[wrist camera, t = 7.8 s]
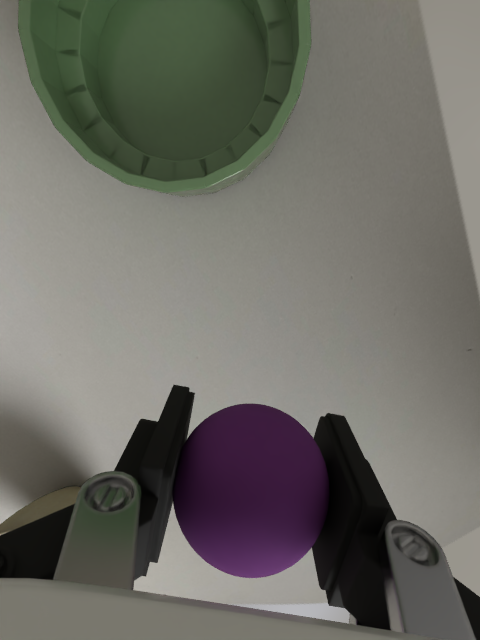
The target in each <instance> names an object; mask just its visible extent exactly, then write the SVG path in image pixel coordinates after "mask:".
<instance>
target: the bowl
mask: <svg viewBox="0 0 480 640" xmlns="http://www.w3.org/2000/svg"><path fill="white" fill-rule="evenodd" d="M18 29H19V35H20V39H21V43H22V47H23V52H24V56H25V60H26V64H27V68H28V72H29V77H30V80H31V83H32V85H33V87H34V89H35V91H36V93H37V95H38V97H39V98H40V100H41V102H42V104H43V106H44V108H45V110H46V112H47V113H48V115H49V117H50V119H51V121H52V123H53V125H54V126H55V128H56V129H57V130H58V131H59V132H60V133H61V134H62V135H63V136H64V138H65V139H66V140H67V141H68V142H69V143H70V144H71V145H72V146H73V147H74V148H75V149H76V150H77V151H78V152H79V154H80V155H81V156H82V157H83V158H84V159H85V160H86V161H88V162H89V163H90V164H92V165H94V166H95V167H97V168H99V169H101V170H102V171H104V172H106V173H107V174H109V175H111V176H112V177H114V178H116V179H118V180H119V181H121V182H123V183H125V184H127V185H132V186H136V187H140V188H144V189H149V190H153V191H158V192H162V193H166V194H171V195H175V196H180V197H181V196H182V197H185V196H193V195H202V194H211V193H216V192H218V191H220V190H222V189H224V188H226V187H228V186H230V185H232V184H234V183H237V182H239V181H241V180H243V179H244V178H246V177H247V176H248V175H249V174H250V173H251V172H252V171H253V170H254V169H255V168H256V167H257V166H258V165H259V164H260V163H261V162H262V161H263V160H265V159H266V158H267V157H268V156H269V155H270V153H271V152H272V150H273V148H274V146H275V145H276V143H277V141H278V139H279V137H280V136H281V134H282V132H283V130H284V128H285V126H286V125H287V123H288V121H289V119H290V116H291V114H292V112H293V110H294V107H295V105H296V103H297V100H298V98H299V95H300V92H301V87H302V83H303V79H304V74H305V70H306V66H307V61H308V57H309V53H310V48H311V23H310V0H19V9H18Z"/></svg>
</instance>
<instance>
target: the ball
mask: <svg viewBox="0 0 480 640" xmlns="http://www.w3.org/2000/svg"><path fill="white" fill-rule="evenodd" d="M172 494H173V504H174V509H175V514H176V518H177V520H178V523H179V526H180V528H181V530H182V533H183V534H184V536H185V538H186V539H187V541H188V542H189V544H190V546H191V547H192V548H193V549H194V551H195V552H196V553H197V554H198V555H199V556H201V557H202V558H203V559H204V560H205V561H206V562H207V563H209V564H210V565H212V566H213V567H215V568H217V569H219V570H221V571H223V572H225V573H227V574H231V575H234V576H238V577H245V578H259V577H266V576H270V575H274V574H276V573H279V572H281V571H283V570H285V569H287V568H289V567H291V566H292V565H294V564H295V563H297V562H298V561H299V560H300V559H301V558H302V557H303V556H304V555H305V554H306V553H307V552H308V551H309V550H310V549H311V547H312V546H313V545H314V543H315V541H316V540H317V538H318V536H319V535H320V533H321V530H322V528H323V526H324V523H325V520H326V516H327V512H328V507H329V498H330V488H329V477H328V472H327V468H326V464H325V461H324V458H323V456H322V453H321V451H320V449H319V447H318V445H317V444H316V442H315V440H314V439H313V437H312V436H311V435H310V433H309V432H308V431H307V430H306V429H305V428H304V427H303V426H302V425H301V424H300V423H299V422H298V421H297V420H295V419H294V418H293V417H291V416H290V415H288V414H286V413H284V412H282V411H280V410H278V409H276V408H273V407H270V406H266V405H261V404H239V405H234V406H230V407H227V408H224V409H222V410H220V411H218V412H216V413H214V414H212V415H211V416H209V417H208V418H206V419H205V420H204V421H203V422H202V423H200V424H199V425H198V426H197V427H196V428H195V429H194V431H193V432H192V433H191V434H190V436H189V437H188V439H187V440H186V442H185V444H184V445H183V447H182V450H181V454H180V458H179V462H178V466H177V471H176V476H175V481H174V486H173V493H172Z"/></svg>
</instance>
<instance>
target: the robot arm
mask: <svg viewBox="0 0 480 640" xmlns="http://www.w3.org/2000/svg"><path fill="white" fill-rule="evenodd" d="M194 395H195V393H192V392H189V388H188V387H183V386H178V385H173V387H172V390H171V392H170V395H169V397H168V399H167V402H166V404H165V407H164V409H163V411H162V414H161V416H160V419H159V421H158V422H157V421H151V420H146V419H140V421H139V423H138V425H137V427H136V429H135V431H134V433H133V435H132V437H131V439H130V440H129V442H128V444H127V446H126V448H125V450H124V452H123V454H122V456H121V458H120V460H119V462H118V464H117V466H116V468H115V470H114V471H110V472H103V473H100V474H97V475H95V476H93V477H91V478H90V479H88V480H87V481H86V482H85V483H84V484H83V485H82V486H81V488H80V490H79V492H78V495H77V499H76V502H75V504H73V505H70V506H68V507H66V508H63V509H61V510H59V511H56V512H54V513H52V514H49V515H47V516H45V517H42V518H40V519H38V520H35V521H33V522H31V523H28V524H26V525H23V526H21V527H19V528H16V529H14V530H12V531H9V532H7V533H5V534H2V535H0V640H480V597H479V596H478V595H476V594H475V593H474V592H472V591H471V590H470V589H468V588H467V587H466V586H464V585H463V584H462V583H460V582H459V581H458V580H457V579H455V578H454V577H453V576H452V573H451V570H450V567H449V565H448V562H447V560H446V556H445V554H444V552H443V550H442V548H441V546H440V545H439V544H438V543H437V541H436V540H435V539H434V538H433V537H432V536H431V535H430V534H428V533H427V532H426V531H425V530H423V529H422V528H420V527H419V526H417V525H415V524H412V523H410V522H407V521H403V520H397V519H396V517H395V515H394V513H393V511H392V509H391V507H390V504H389V502H388V500H387V498H386V496H385V494H384V492H383V490H382V488H381V486H380V484H379V482H378V480H377V478H376V476H375V474H374V472H373V470H372V468H371V466H370V464H369V462H368V461H367V460H366V459H365V458H364V456H363V453H362V451H361V449H360V447H359V445H358V443H357V441H356V439H355V437H354V435H353V433H352V431H351V429H350V426H349V424H348V422H347V420H346V418H345V417H344V416H341V415H335V414H330V413H327V414H326V416H325V417H323V416H321V417H320V419H319V422H318V426H317V429H316V432H315V435H314V440H315V442H316V444H317V445H318V447H319V449H320V451H321V453H322V456H323V458H324V461H325V464H326V468H327V472H328V477H329V488H330V498H329V507H328V512H327V516H326V520H325V523H324V526H323V528H322V530H321V533H320V535H319V536H318V538H317V540H316V541H315V543H314V545H313V546H312V551H313V556H314V561H315V566H316V571H317V576H318V581H319V586H320V588H321V589H322V590H326V594H327V599H328V604H329V606H335V607H341V608H345V609H347V610H348V612H349V613H350V618H349V624H347V623H341V622H335V621H328V620H322V619H316V618H310V617H303V616H297V615H290V614H284V613H277V612H271V611H265V610H258V609H253V608H246V607H240V606H234V605H227V604H220V603H214V602H207V601H201V600H194V599H187V598H181V597H174V596H168V595H161V594H154V593H148V592H141V591H135V590H133V587H134V580H136V579H137V578H139V577H140V576H146V574H147V570H148V567H149V563H150V562H155V563H157V562H158V558H159V554H160V551H161V547H162V543H163V539H164V535H165V531H166V527H167V523H168V519H169V515H170V511H171V507H172V503H173V494H172V493H173V486H174V481H175V476H176V471H177V466H178V462H179V458H180V454H181V450H182V447H183V445H184V444H185V442H186V440H187V435H188V429H189V423H190V418H191V412H192V406H193V401H194Z"/></svg>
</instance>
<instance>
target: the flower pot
mask: <svg viewBox="0 0 480 640" xmlns="http://www.w3.org/2000/svg"><path fill="white" fill-rule="evenodd" d="M80 488H81V487H77V486H71V487H66V488H63V489H60V490H57V491H54V492H52V493H49V494H47V495H45V496H43V497H41V498H39V499H37V500H35V501H33V502H32V503H30V504H28V505H27V506H25V507H23V508H22V509H20V510H19V511H17V512H16V513H15V514H13V515H12V516H10V517H9V518H8V519H6V520H5V521H4V522H3V523H1V524H0V535H2V534H5V533H7V532H9V531H12V530H14V529H16V528H19V527H21V526H23V525H26V524H28V523H31V522H33V521H35V520H38V519H40V518H42V517H45V516H47V515H49V514H52V513H54V512H56V511H59V510H61V509H63V508H66V507H68V506H70V505H73V504H75V502H76V499H77V495H78V492H79V490H80Z"/></svg>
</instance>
